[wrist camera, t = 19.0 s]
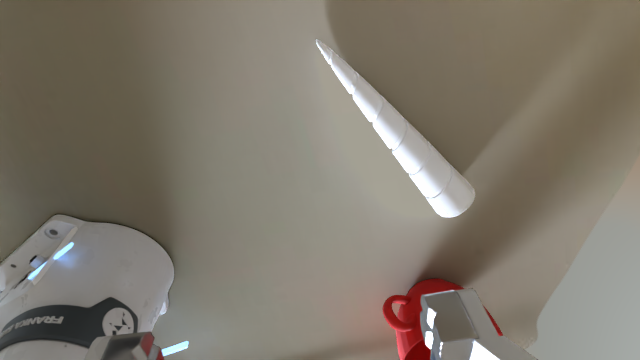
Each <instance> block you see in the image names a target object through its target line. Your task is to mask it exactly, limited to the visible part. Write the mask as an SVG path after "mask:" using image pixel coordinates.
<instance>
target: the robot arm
mask: <svg viewBox="0 0 640 360" xmlns="http://www.w3.org/2000/svg"><path fill="white" fill-rule="evenodd" d="M55 230H56V231H55ZM173 279H174V267H173V263H172V261H171V259H170V257H169V255H168V254H167V253H166V251H165V250H164V249H163V248H162V247H161V246H160V245H159V244H158V243H157V242H156V241H154V240H153V239H151V238H150V237H148V236H147V235H145V234H143V233H141V232H139V231H137V230H134V229H131V228H129V227H125V226H121V225H117V224H111V223H96V222H86V221H82V220H79V219H76V218H73V217H70V216H66V215H54V216H53V217H51V218H50V219H49V220H48V221H47V222H46V223H45V224H44V225H42V226H41V227H40V228H39V229H38V230H37V231H36V232H35V233H34V234H33V235H31V236H30V237H29V238H28V239H27V240H26V241H25V242H24V243H23V244H22V245H21V246H19V247H18V248H17V249H16V250H15V251H14V252H13V253H12V254H11V255H10V256H8V257H7V258H6V259H5V260H4V261H3V262H2V263H1V264H0V360H164V357H163V356H165V355H168V354H171V353H174V352H177V351H180V350H183V349H185V348H187V347H188V343H189V342H188V341H186V342H183V343H180V344H177V345H175V346H172V347H169V348H166V349H163V350H161V348H160V347H159V346H157V345H155V344H153V341H154V336H153V335H152V333H151V331H152V329H153V327H154V324H155V322H156V320H157V318H158V316H159V315H162V314H164V313H165V312H166V310H167V308H168V306H169V298H168V291H169V289H170V287H171V285H172V282H173ZM420 303H421V306H422V309H423V310H422V311H421V312H420V324H421V331H422V335H423V338H424V341H425V344H426V345H427V346H428V347H429V348H430V349H431V355H430V359H431V360H538V359H536V358H535V357H534V356H532V355H531V354H529V353H528V352H527V351H525V350H524V349H522V348H521V347H520V346H518V345H517V344H515V343H514V342H513V341H511V340H510V339H508V338H507V337H506V336H499V335H498V333H497V331H496V329H495V327H494V325H493V324H492V322H491V320H490V318H489V316H488V314H487V312H486V310H485V308H484V306H483V305H482V303H481V301H480V299H479V297H478V295H477V293H476V291H475V290H474V289H473V288H469V289H462V290H455V291H454V290H451V291H444V292H438V293H431V294H424V295H422V296H421V302H420Z"/></svg>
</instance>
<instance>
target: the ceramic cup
mask: <svg viewBox="0 0 640 360" xmlns="http://www.w3.org/2000/svg"><path fill="white" fill-rule="evenodd" d="M462 289H464V288H463V287H461V286H459V285H456V284H454V283H451V282H447V281H445V280H442V279H427V280H424V281H421V282H419V283H417V284H416V285H414V286H413V287H412V288H411V289H410V290H409V292H408V294H407V295H406V296H404V295H394V296H391V297H389V298H388V299H387V300H386V301H385V303H384V305H383V314H384V317H385V319H386V321H387V322H388V324H389V325H390V326H391V327H392V328H394V329H395V330H396V338H397V346H398V352H399V357H400V360H431V359H430V355H431V349H430V348H429V347H428V346H427V345H426V344H425V341H424V338H423V335H422V331H421V324H420V312H421V311H422V310H423V309H422V306H421V303H420V302H421V296H422V295H424V294H431V293H438V292H444V291H451V290H454V291H455V290H462ZM392 303H401V306H400V309H399V311H398V315H397V317H396V315H395V314H394V312H393V310H392ZM482 305H483V304H482ZM484 308H485V307H484ZM485 310H486V312H487V314H488V316H489V318H490V320H491V322H492V324H493V325H494V327H495V329H496V331H497V333H498V335H499V336H503V334H502V332H501V330H500V328H499V327H498V325H497V324H496V322H495V321H494V319H493V318H492V316H491V315H490V313H489V312H488V311H487V309H486V308H485Z"/></svg>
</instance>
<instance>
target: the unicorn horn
mask: <svg viewBox="0 0 640 360" xmlns="http://www.w3.org/2000/svg"><path fill="white" fill-rule="evenodd" d="M316 43H317V45H318V47H319V49H320V51H321V52H322V54H323V55H324V57H325V59H326V60H327V62H328V63H329V64H331V67H332V69H333V71H334V72H335V73H336V75H337V76H338V78H339V79H340V81H341V82H342V84H343V85H344V86H345V88H346V89H347V91H348V92H349V93H350V94H353V97H352V98H353V99H354V101H355V102H356V103H357V105H358V106H359V108H360V109H361V110H362V112H363V113H364V115H365V116H366V117H367V119H368V120H369V121H370V122H371V121H373V123H374V124H373V127H374V128H375V130H376V131H377V132H378V134H379V135H380V137H381V138H382V139H383V141H384V142H385V143H386V145H387V146H388V147H389V148H391V147H392V149H393V150H392V153H393V154H394V156H395V157H396V158H397V160H398V161H399V162H400V164H401V165H402V166H403V168H404V169H405V170H406V172H409V175H410V177H411V178H412V180H413V181H414V182H415V184H416V185H417V187H418V188H419V189H420V191H421V192H422V193H423V195H425V197H426V199H427V200H428V201H429V203H430V204H431V205H432V207H433V208H434V210H435V211H436V212H437V213H438V214H439V215H441V216H442V217H455V216H458V215H460V214H461V213H463V212H464V211H466V210H467V209H468V208H469V207H470V206H471V205H472V203H473V201H474V199H475V190H474V189H473V187H472V186H471V185H470V184H469V182H468V181H467V180H466V179H465V178H464V177H463V176H462V175H461V174H460V173H459V172H458V171H457V170H456V169H455V168H454V167H453V166H452V165H451V164H450V163H449V162H447V161H446V159H445V158H444V157H443V156H442V155H441V154H440V153H439V152H438V151H437V150H436V149H435V148H434V147H433V146H432V145H431V144H430V142H429V141H428V140H426V139H425V138H424V137H423V136H422V135H421V134H420V133H419V132H418V131H417V130H416V129H415V128H414V127H413V126H412V125H411V124H410V123H409V122H408V121H407V120H406V119H405V118H403V116H402V115H401V114H400V113H399V112H398V111H397V110H396V109H395V108H394V107H393V106H392V105H391V104H390V103H389V102H388V101H387V100H386V99H385V98H384V97H383V96H382V95H380V94H379V93H378V92H377V91H376V90H375V89H374V88H373V87H372V86H371V85H370V84H369V83H368V82H367V81H366V80H365V79H364V78H363V77H362V76H360V75H359V74H358V73H357V72H356V71H355V70H353V68H352V67H351V66H350V65H349V64H347V63H346V62H345V61H344V60H343V59H342V58H341V57H340V56H338V55H337V54H336V53H335V52H334V51H333V50H332V49H330V48H329V47H328V46H327V45H325V44H324V43H323V42H321V41H320V40H318V39H316Z"/></svg>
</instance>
